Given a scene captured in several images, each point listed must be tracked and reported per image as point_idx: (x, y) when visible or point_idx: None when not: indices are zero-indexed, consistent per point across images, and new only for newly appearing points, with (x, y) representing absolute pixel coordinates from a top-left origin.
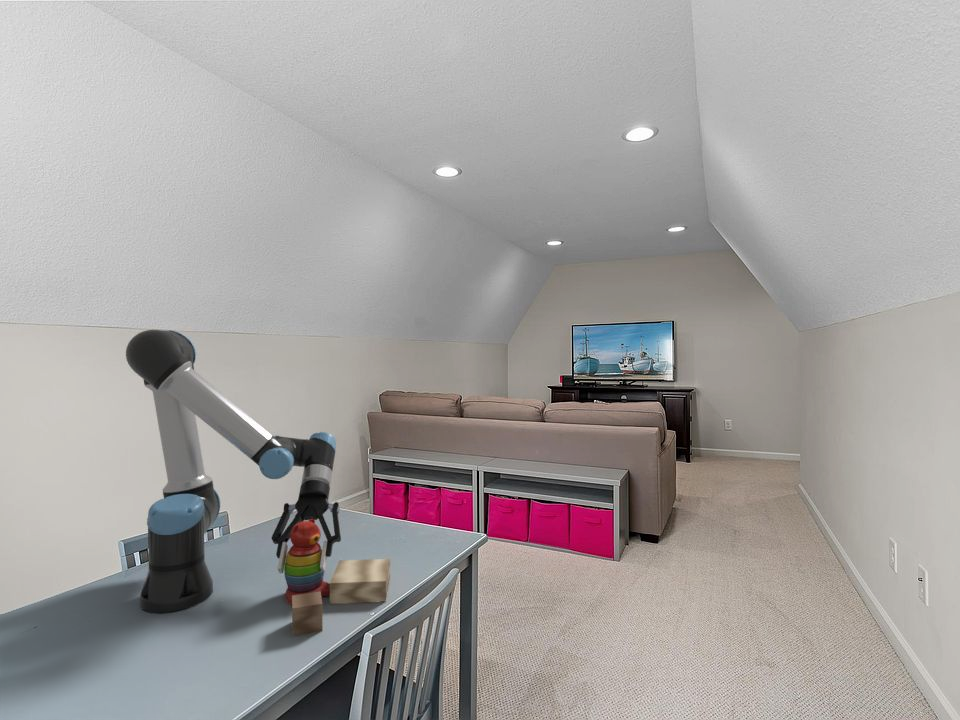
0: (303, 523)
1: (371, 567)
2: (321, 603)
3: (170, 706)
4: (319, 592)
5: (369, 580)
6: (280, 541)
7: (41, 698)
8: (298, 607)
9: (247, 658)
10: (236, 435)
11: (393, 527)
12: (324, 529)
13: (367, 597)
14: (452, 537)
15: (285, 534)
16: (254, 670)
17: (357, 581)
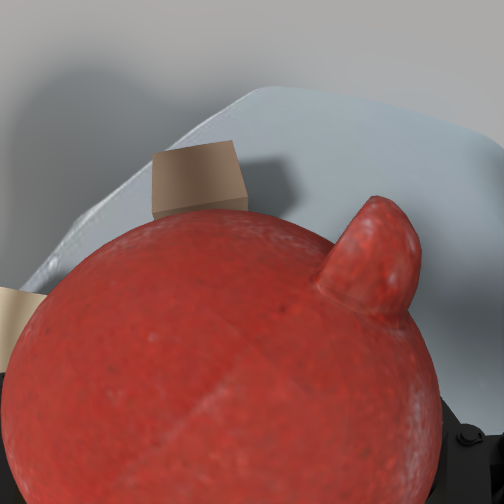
0: (205, 327)
1: None
2: (155, 154)
3: (353, 100)
4: (156, 206)
5: (8, 296)
6: (461, 428)
7: (487, 145)
8: (216, 142)
9: (304, 148)
10: None
11: None
12: (3, 486)
13: None
14: None
15: (464, 483)
16: (278, 126)
17: (35, 298)
